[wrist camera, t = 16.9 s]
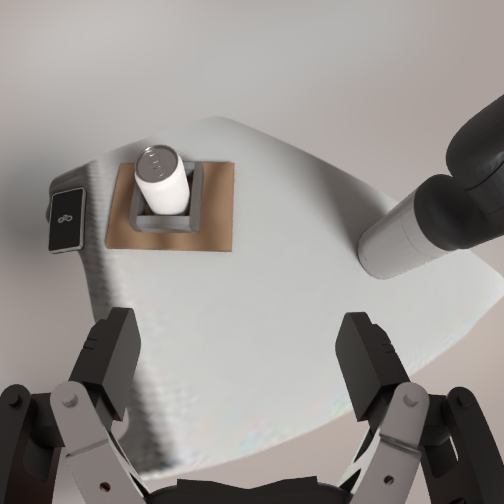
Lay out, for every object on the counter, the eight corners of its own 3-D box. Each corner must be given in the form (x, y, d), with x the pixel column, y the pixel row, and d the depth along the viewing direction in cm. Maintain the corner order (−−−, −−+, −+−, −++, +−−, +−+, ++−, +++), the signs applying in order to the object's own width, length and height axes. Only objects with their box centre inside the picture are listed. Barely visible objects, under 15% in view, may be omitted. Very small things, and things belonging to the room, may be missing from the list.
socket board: (234, 166, 50) (235, 150, 45) (231, 251, 45) (232, 241, 41) (122, 167, 48) (114, 152, 43) (108, 248, 44) (96, 238, 39)
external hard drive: (88, 191, 47) (84, 186, 45) (85, 251, 44) (80, 247, 42) (57, 198, 46) (52, 194, 44) (53, 256, 43) (47, 253, 41)
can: (158, 228, 44) (137, 193, 33) (147, 193, 46) (126, 152, 34) (197, 213, 45) (188, 174, 34) (184, 179, 47) (173, 135, 35)
